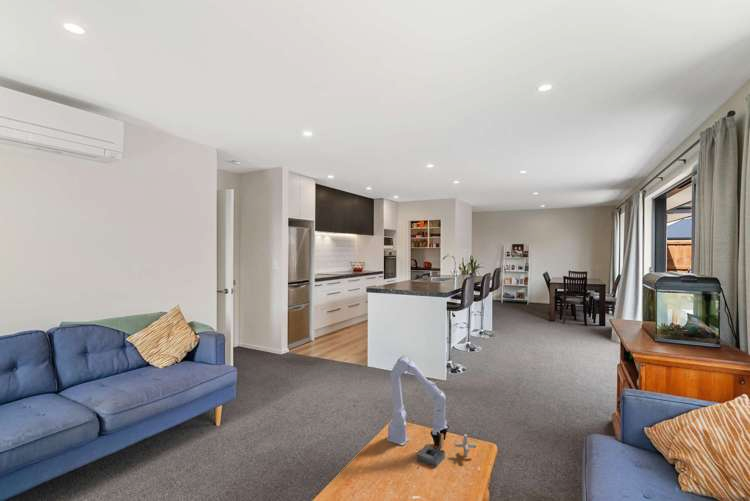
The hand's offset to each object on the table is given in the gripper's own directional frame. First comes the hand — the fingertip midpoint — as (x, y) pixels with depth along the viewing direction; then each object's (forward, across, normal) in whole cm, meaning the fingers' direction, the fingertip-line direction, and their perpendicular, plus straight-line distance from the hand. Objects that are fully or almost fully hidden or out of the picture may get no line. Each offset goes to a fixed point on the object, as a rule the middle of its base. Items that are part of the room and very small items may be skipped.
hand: (439, 442), depth 183 cm
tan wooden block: (+2, 0, 0) cm, 2 cm away
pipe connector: (+2, -1, -14) cm, 14 cm away
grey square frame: (+2, -13, -1) cm, 13 cm away
